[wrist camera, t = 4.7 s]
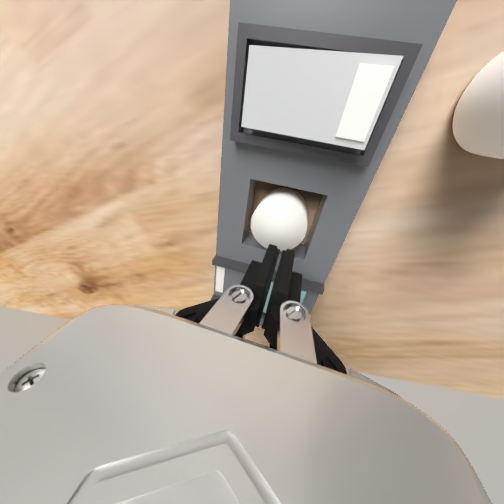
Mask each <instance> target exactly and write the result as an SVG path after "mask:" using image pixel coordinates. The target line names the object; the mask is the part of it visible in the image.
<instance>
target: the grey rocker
mask: <svg viewBox="0 0 504 504" xmlns="http://www.w3.org/2000/svg"><path fill="white" fill-rule="evenodd" d="M402 59H403V56H398V55H384V54H370V53H356V52H341V51H327V50H313V49H299V48H285V47H271V46H257V45H249V54H248V64H247V74H246V84H245V94H244V104H243V114H242V125H241V127H246V128H251V129H256V130H261V131H266V132H272V133H277V134H282V135H287V136H293V137H298V138H303V139H308V140H313V141H319V142H324V143H329V144H334V145H340V146H345V147H350V148H355V149H360V150H365V148H366V145H367V143H368V140H369V138H370V136H371V133H372V131H373V128H374V126H375V124H376V121H377V119H378V116H379V114H380V112H381V109H382V107H383V104H384V102H385V99H386V97H387V95H388V92H389V90H390V87H391V85H392V83H393V80H394V78H395V75H396V73H397V71H398V68H399V66H400V63H401V61H402Z"/></svg>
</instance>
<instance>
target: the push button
mask: <svg viewBox="0 0 504 504" xmlns="http://www.w3.org/2000/svg"><path fill="white" fill-rule="evenodd" d="M251 231H252V234H253V236H254V237H255V239H256V240H257V241H258V243H260V244H261V245H262V246H263V247H265V248H268V246H269V244H272V245H275V246H278V247H277V248H278V249H280V251H283V250H285V251H286V250H287V249H293V248H295V247H296V246H298V245H299V244H300V243H301V242H302V241H303V239H304V237H305V235H306V232H307V204H306V202H305V200H304V198H303V197H302V196H301V194H299V193H298V192H297V191H295V190H293V189H290V188H277V189H274V190H272V191H270V192H269V193H267V194H266V195H265V196H264V198H263V199H262V201H261V202H260V204H259V205H258V207H257V208H256V210H255V211H254V213H253V215H252V218H251Z"/></svg>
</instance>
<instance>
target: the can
mask: <svg viewBox="0 0 504 504" xmlns="http://www.w3.org/2000/svg"><path fill="white" fill-rule="evenodd" d="M453 134H454V137H455V139H456V141H457V143H458V144H459V145H460V146H461V147H462V148H463V149H464V150H466V151H468V152H470V153H473V154H476V155H481V156H486V157H492V158H498V159H504V51H503V52H502V53H500V54H499V55H497V56H496V57H495V58H494V59H492V60H491V61H490V62H489V63H488V64H487V65H486V66H484V67H483V68H482V69H481V70H480V71H479V73H478V74H477V75H476V76H475V77H474V78H473V79H472V81H471V82H470V83H469V85H468V86H467V87H466V89H465V91H464V92H463V94H462V96H461V97H460V99H459V102H458V104H457V106H456V109H455V112H454V117H453Z"/></svg>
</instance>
